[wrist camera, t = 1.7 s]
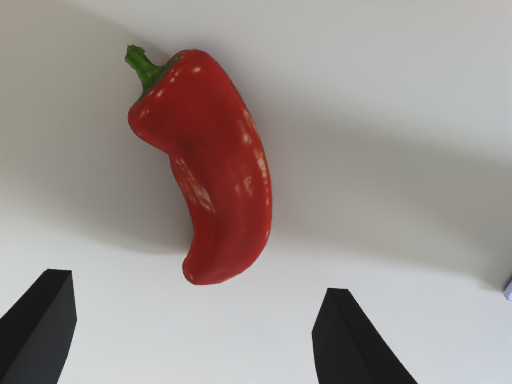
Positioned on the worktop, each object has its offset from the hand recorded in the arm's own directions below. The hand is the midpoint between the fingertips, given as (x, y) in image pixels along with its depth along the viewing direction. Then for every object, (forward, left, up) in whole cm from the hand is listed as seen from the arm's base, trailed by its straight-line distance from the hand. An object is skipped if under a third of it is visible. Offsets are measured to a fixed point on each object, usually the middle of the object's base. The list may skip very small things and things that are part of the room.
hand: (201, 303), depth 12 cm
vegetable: (0, 0, -8) cm, 8 cm away
